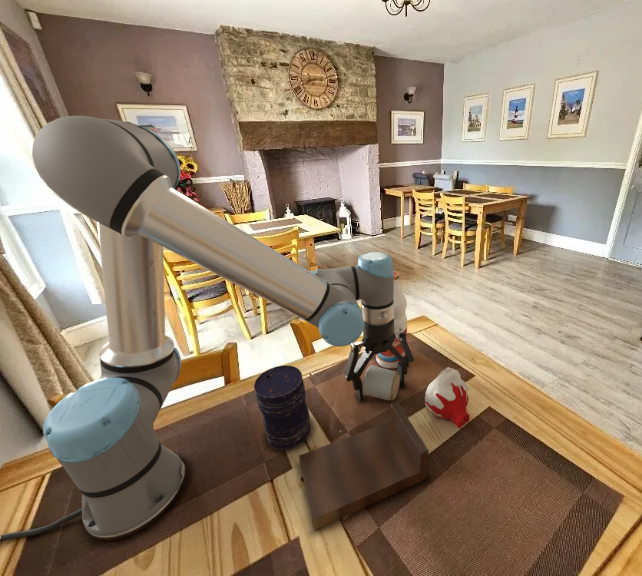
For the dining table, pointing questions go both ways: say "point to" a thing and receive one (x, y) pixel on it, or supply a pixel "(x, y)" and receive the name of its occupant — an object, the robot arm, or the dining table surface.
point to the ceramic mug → (381, 383)
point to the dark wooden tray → (363, 469)
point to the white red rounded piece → (448, 397)
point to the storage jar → (283, 406)
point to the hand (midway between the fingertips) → (381, 390)
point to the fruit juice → (395, 327)
